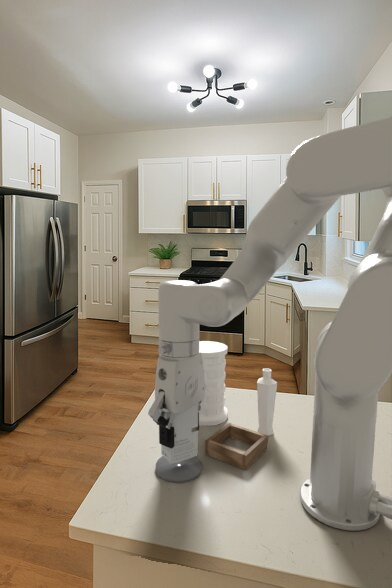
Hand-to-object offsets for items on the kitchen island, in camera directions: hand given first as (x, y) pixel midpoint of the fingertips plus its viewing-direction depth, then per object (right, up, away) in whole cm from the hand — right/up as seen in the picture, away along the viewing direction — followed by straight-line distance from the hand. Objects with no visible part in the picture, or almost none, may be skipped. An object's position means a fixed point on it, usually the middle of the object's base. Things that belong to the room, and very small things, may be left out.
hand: (179, 436), depth 73 cm
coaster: (0, -7, +1) cm, 7 cm away
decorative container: (+6, -4, +24) cm, 25 cm away
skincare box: (0, -4, +1) cm, 4 cm away
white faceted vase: (+19, -5, +15) cm, 25 cm away
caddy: (+12, -6, +7) cm, 15 cm away
